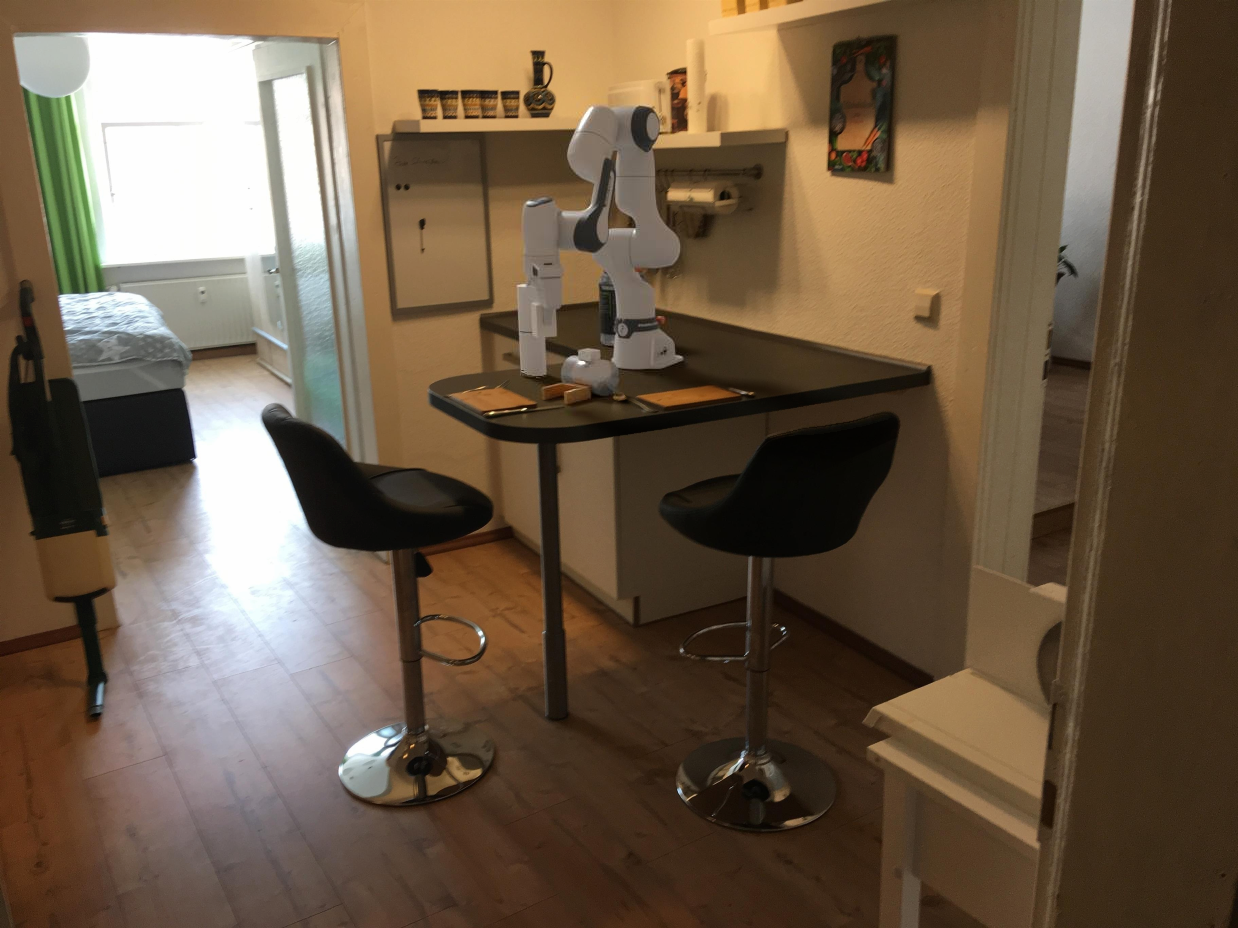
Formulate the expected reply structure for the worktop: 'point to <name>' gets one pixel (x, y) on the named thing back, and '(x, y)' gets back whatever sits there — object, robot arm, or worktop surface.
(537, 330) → the block
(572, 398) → the motor mount
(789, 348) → the worktop surface
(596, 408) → the worktop surface
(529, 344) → the cylindrical container
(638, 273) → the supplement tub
